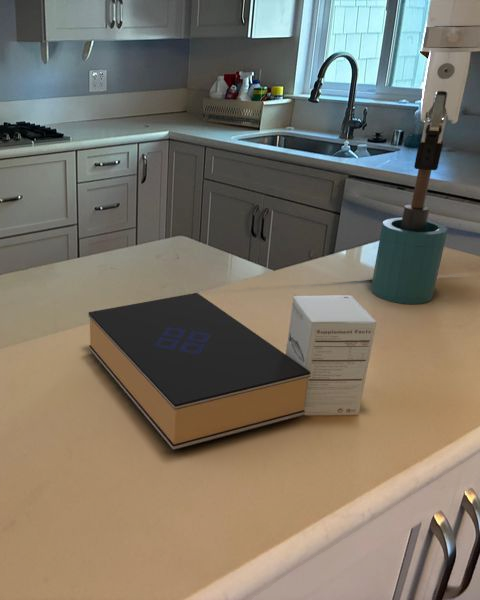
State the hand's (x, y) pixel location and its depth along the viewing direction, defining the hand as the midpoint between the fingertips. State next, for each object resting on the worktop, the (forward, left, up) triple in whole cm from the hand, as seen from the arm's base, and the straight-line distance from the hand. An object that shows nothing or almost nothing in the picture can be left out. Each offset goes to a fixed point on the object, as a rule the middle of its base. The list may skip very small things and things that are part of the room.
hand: (425, 166), depth 96 cm
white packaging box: (+29, +29, -22) cm, 46 cm away
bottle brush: (0, 0, -11) cm, 11 cm away
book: (+44, +23, -22) cm, 54 cm away
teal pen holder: (0, 0, -22) cm, 22 cm away
